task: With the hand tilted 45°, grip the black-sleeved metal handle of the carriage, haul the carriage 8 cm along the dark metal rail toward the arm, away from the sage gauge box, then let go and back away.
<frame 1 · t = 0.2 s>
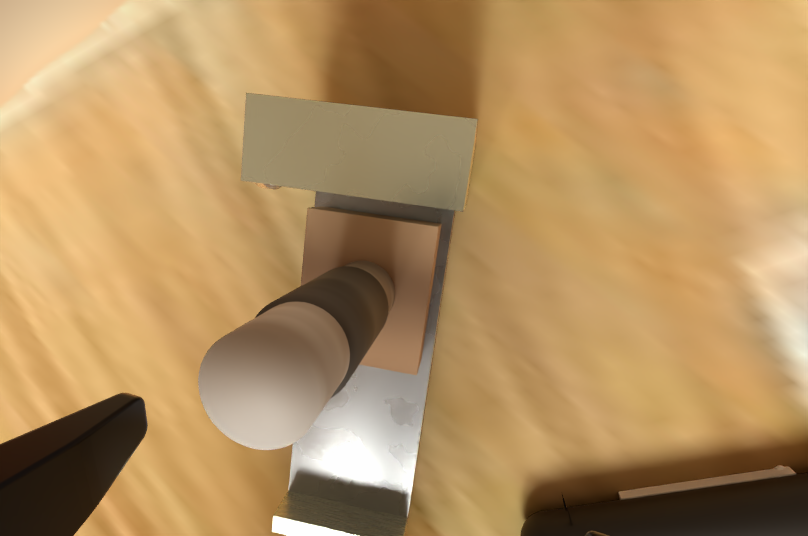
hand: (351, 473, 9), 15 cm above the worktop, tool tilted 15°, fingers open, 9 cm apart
rail: (371, 346, 25), on the worktop
carriage: (336, 317, 16), point 8 cm above the worktop, slide at 0.0 cm
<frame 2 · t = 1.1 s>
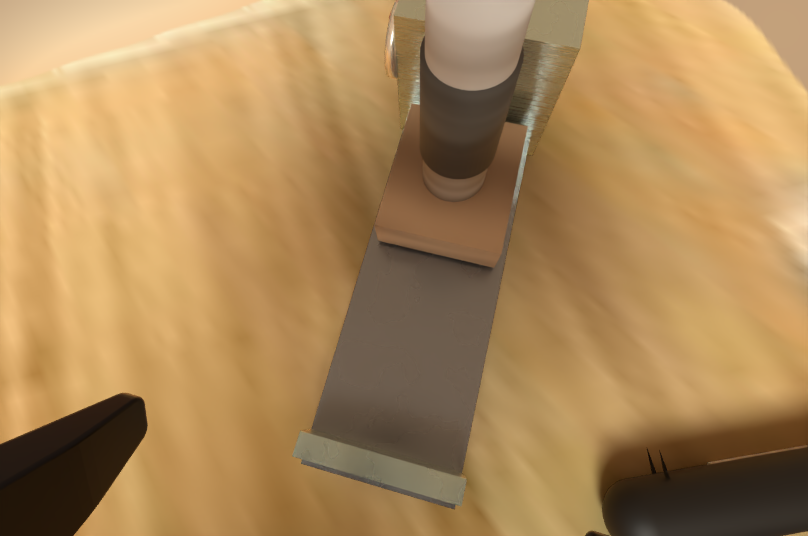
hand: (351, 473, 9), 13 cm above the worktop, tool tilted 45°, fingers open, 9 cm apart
rail: (431, 273, 24), on the worktop
carriage: (461, 120, 17), point 8 cm above the worktop, slide at 0.0 cm
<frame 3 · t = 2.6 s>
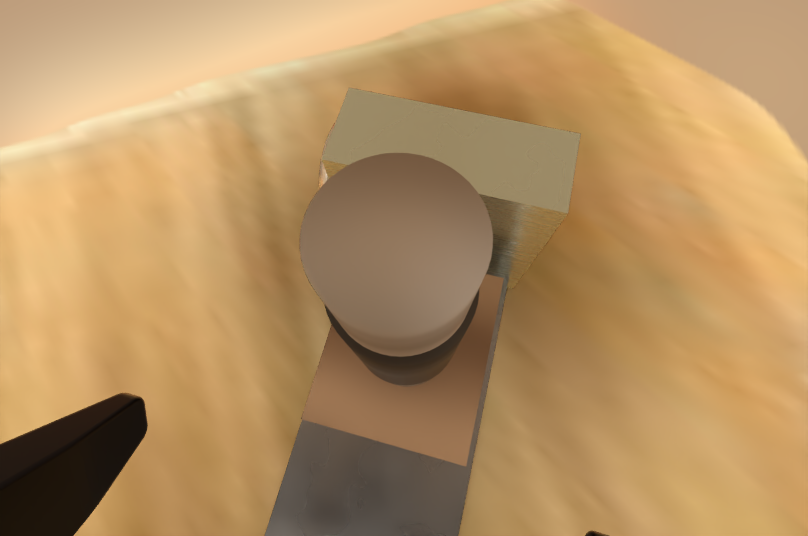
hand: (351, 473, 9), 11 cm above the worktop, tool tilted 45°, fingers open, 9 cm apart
rail: (384, 450, 19), on the worktop
carriage: (404, 321, 13), point 8 cm above the worktop, slide at 0.0 cm
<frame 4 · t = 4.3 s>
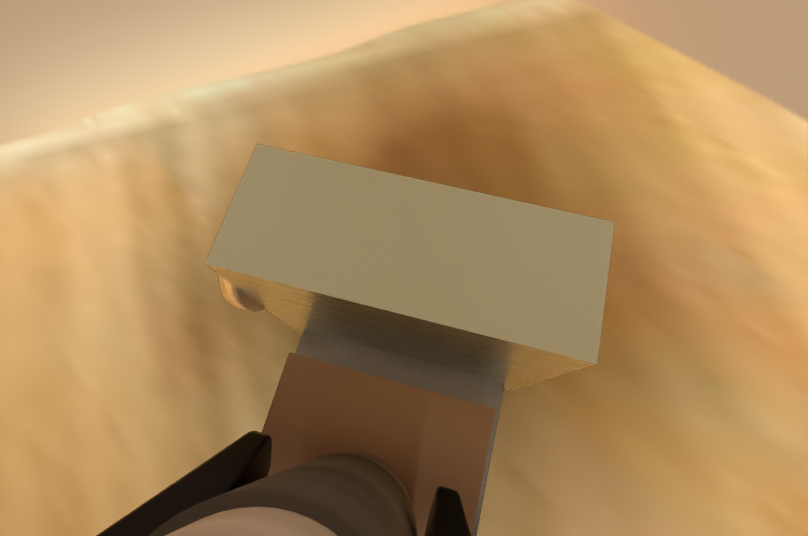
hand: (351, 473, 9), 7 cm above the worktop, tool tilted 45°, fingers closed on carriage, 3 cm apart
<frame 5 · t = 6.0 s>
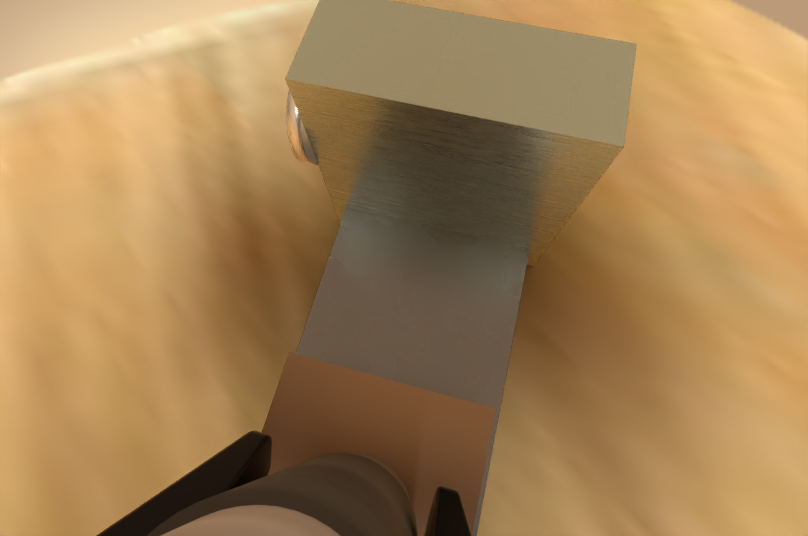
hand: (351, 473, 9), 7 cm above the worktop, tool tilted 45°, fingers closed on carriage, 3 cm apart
rail: (375, 465, 15), on the worktop
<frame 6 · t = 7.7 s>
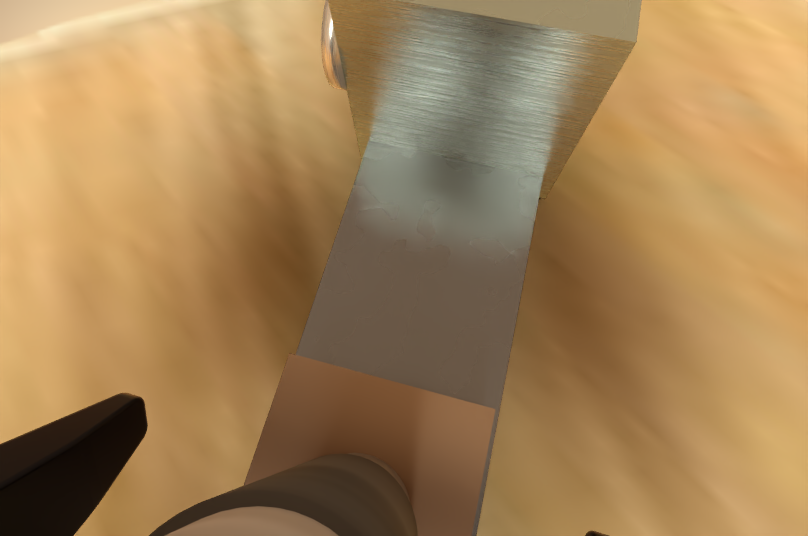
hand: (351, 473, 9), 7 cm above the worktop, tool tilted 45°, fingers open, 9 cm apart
rail: (399, 376, 16), on the worktop
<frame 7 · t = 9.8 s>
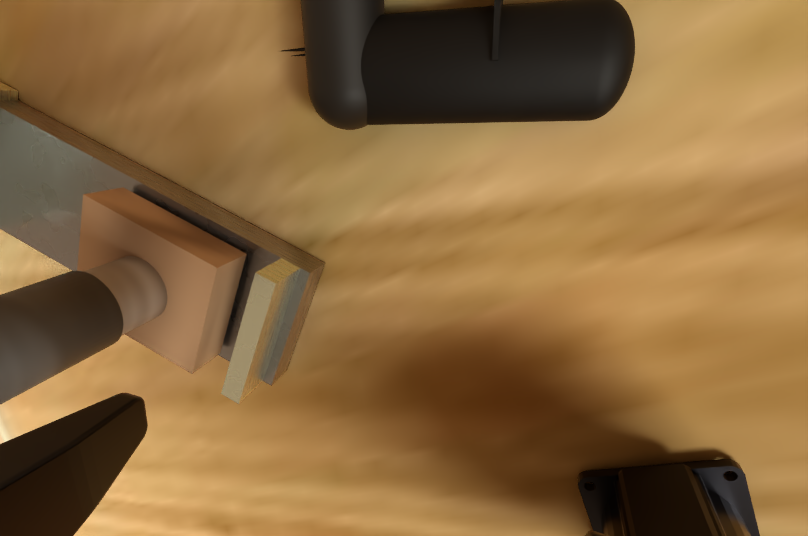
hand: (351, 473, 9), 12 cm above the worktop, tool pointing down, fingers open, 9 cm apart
rail: (139, 228, 24), on the worktop
carriage: (46, 327, 16), point 8 cm above the worktop, slide at 8.0 cm
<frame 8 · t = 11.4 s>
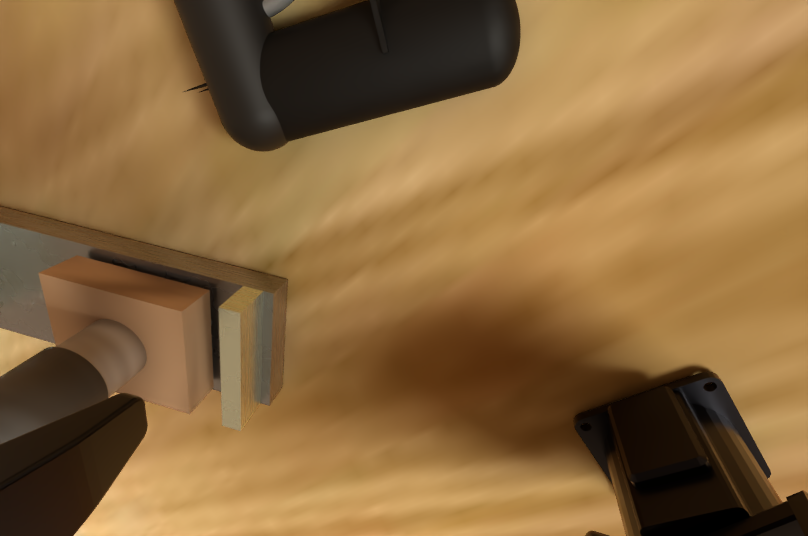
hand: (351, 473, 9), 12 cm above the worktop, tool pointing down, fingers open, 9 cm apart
rail: (107, 288, 24), on the worktop
carriage: (33, 408, 17), point 8 cm above the worktop, slide at 8.0 cm
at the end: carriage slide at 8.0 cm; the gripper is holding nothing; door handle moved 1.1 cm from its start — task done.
